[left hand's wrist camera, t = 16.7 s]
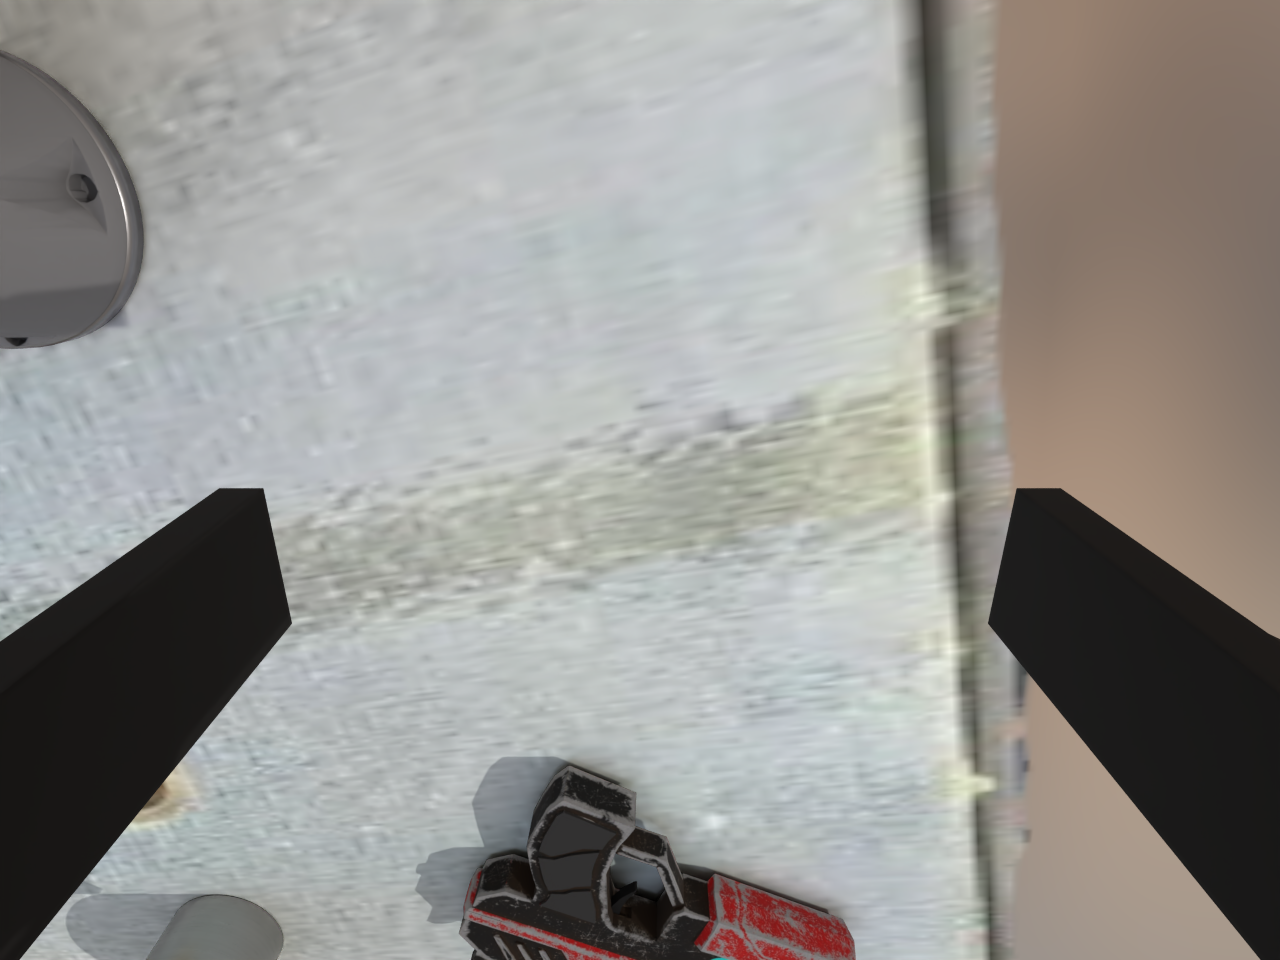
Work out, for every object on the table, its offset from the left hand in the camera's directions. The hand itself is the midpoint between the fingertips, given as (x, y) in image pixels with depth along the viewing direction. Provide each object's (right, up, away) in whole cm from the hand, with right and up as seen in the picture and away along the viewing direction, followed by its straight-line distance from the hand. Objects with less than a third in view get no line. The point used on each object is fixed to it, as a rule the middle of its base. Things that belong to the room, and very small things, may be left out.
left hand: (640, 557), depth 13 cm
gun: (+2, -33, +46) cm, 56 cm away
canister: (-35, -37, +48) cm, 69 cm away
